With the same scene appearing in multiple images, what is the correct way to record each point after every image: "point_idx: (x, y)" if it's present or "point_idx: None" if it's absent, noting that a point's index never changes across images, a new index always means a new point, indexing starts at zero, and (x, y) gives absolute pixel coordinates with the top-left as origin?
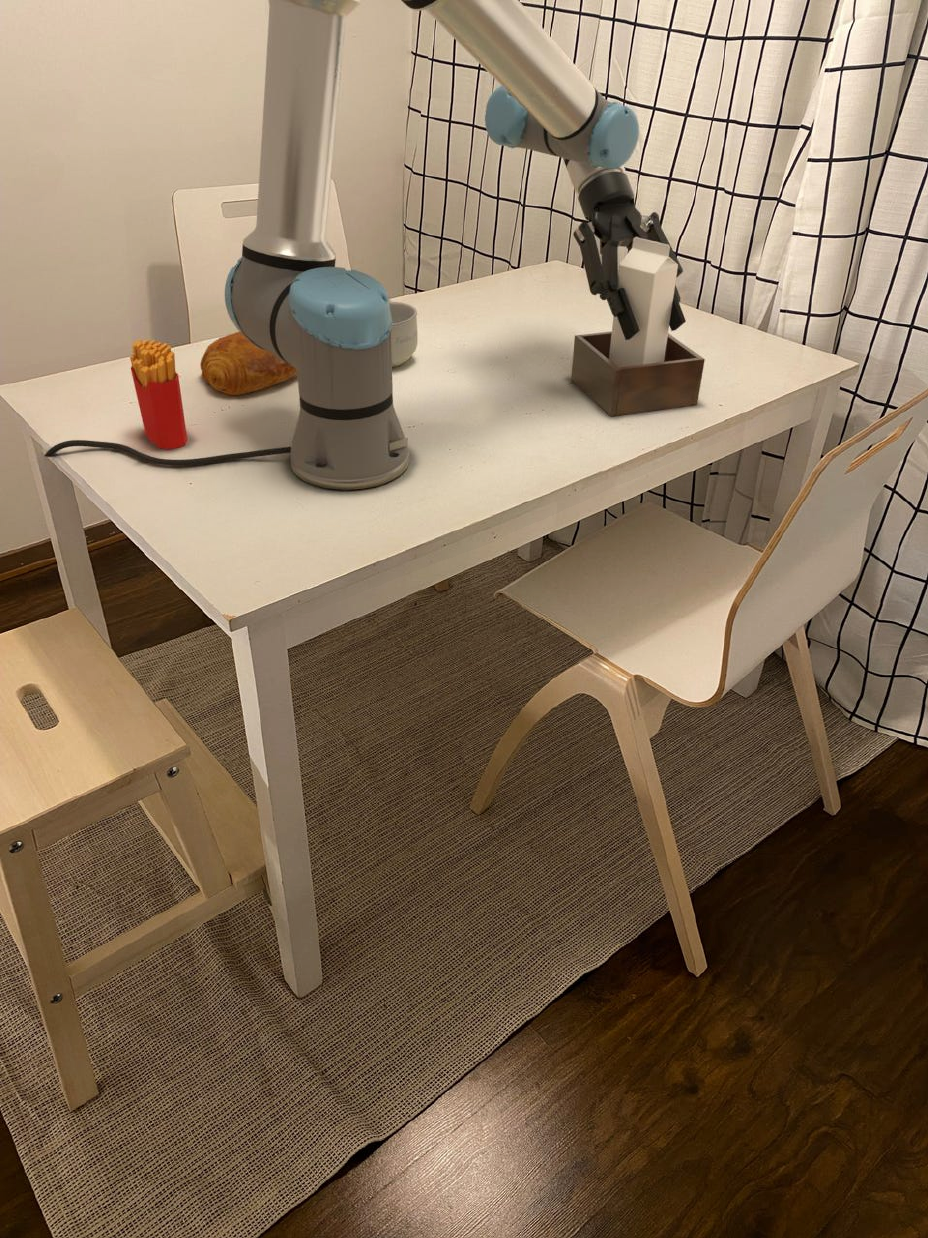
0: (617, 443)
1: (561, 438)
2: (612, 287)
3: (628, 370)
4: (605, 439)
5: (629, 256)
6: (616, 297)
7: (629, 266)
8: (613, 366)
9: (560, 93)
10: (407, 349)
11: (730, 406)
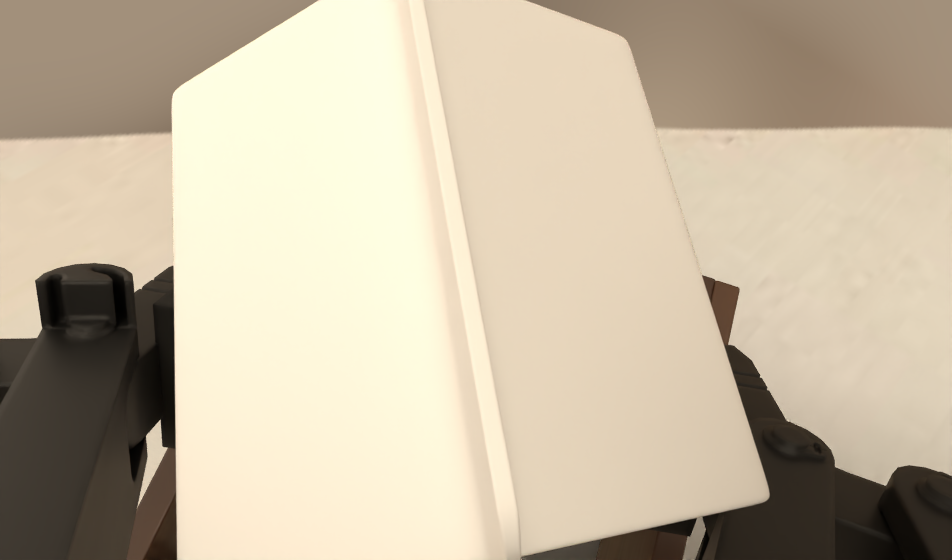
0: (772, 203)
1: (915, 326)
2: (808, 435)
3: None
4: (789, 241)
5: (636, 456)
6: (743, 405)
7: (720, 336)
8: (724, 323)
9: None
10: None
11: None
